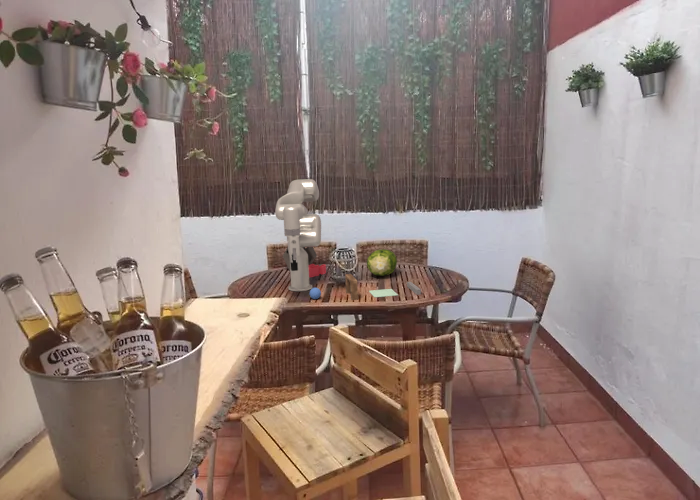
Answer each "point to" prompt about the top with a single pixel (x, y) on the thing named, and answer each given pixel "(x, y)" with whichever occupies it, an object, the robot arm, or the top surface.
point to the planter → (309, 251)
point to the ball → (315, 293)
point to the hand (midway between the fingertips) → (294, 270)
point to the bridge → (351, 286)
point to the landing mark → (383, 293)
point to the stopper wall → (414, 288)
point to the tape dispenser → (316, 270)
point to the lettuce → (382, 262)
